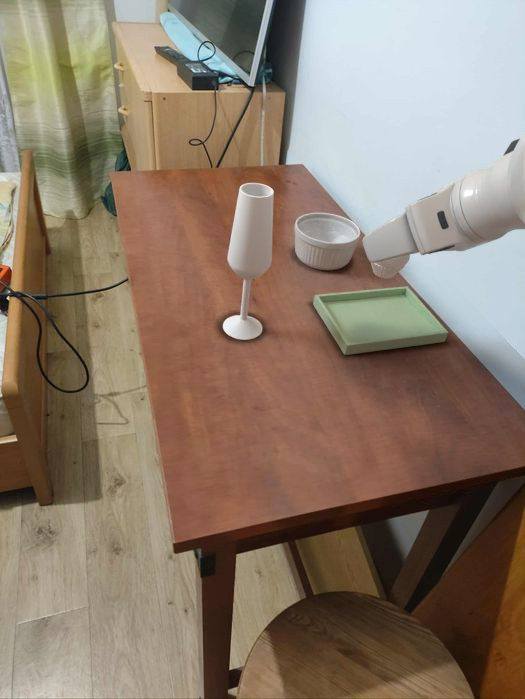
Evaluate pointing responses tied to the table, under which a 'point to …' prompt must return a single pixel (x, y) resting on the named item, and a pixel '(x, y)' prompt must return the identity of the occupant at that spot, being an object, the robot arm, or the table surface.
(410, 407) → the table surface
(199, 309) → the table surface
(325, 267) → the ramekin
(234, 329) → the champagne flute
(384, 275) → the muffin
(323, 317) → the tray
